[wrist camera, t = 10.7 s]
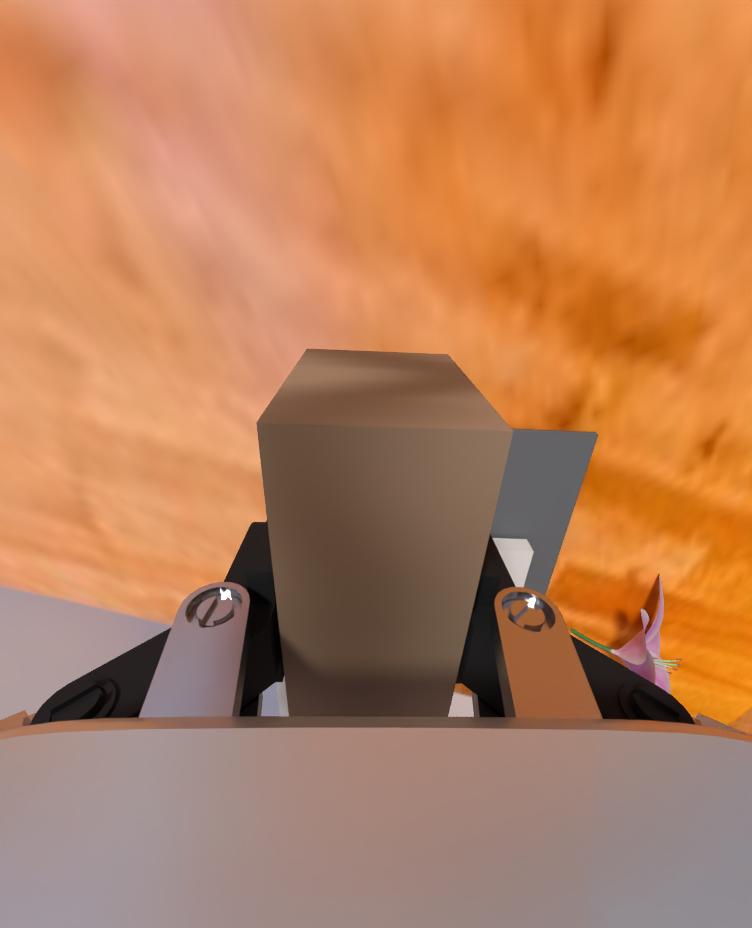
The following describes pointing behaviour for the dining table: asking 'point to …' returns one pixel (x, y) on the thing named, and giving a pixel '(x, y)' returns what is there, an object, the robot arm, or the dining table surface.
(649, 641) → the lily
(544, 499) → the mat
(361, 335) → the dining table surface
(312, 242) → the dining table surface
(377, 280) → the dining table surface
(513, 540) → the tile
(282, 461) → the brown and grey block
